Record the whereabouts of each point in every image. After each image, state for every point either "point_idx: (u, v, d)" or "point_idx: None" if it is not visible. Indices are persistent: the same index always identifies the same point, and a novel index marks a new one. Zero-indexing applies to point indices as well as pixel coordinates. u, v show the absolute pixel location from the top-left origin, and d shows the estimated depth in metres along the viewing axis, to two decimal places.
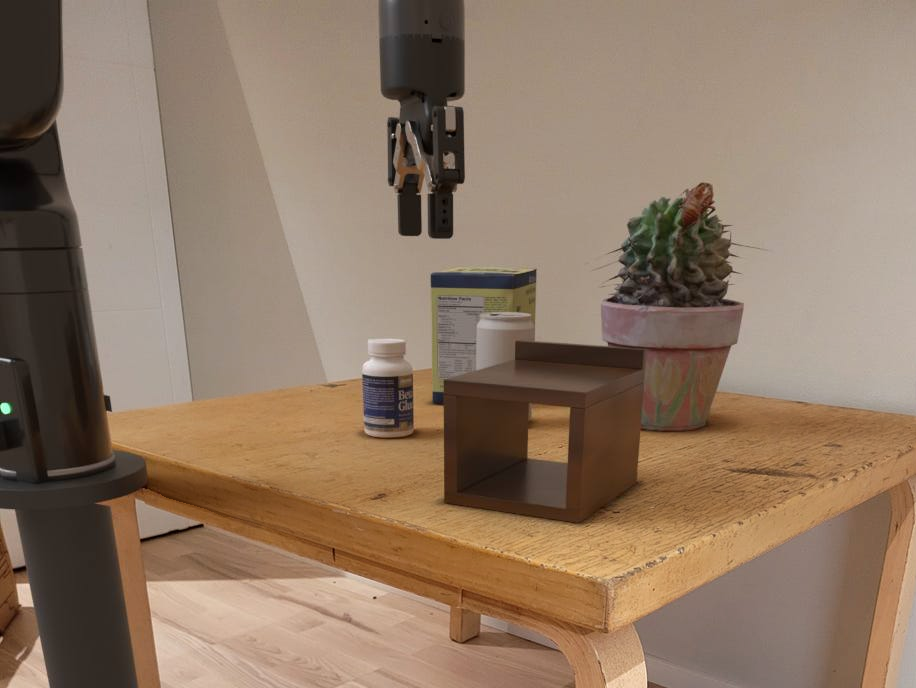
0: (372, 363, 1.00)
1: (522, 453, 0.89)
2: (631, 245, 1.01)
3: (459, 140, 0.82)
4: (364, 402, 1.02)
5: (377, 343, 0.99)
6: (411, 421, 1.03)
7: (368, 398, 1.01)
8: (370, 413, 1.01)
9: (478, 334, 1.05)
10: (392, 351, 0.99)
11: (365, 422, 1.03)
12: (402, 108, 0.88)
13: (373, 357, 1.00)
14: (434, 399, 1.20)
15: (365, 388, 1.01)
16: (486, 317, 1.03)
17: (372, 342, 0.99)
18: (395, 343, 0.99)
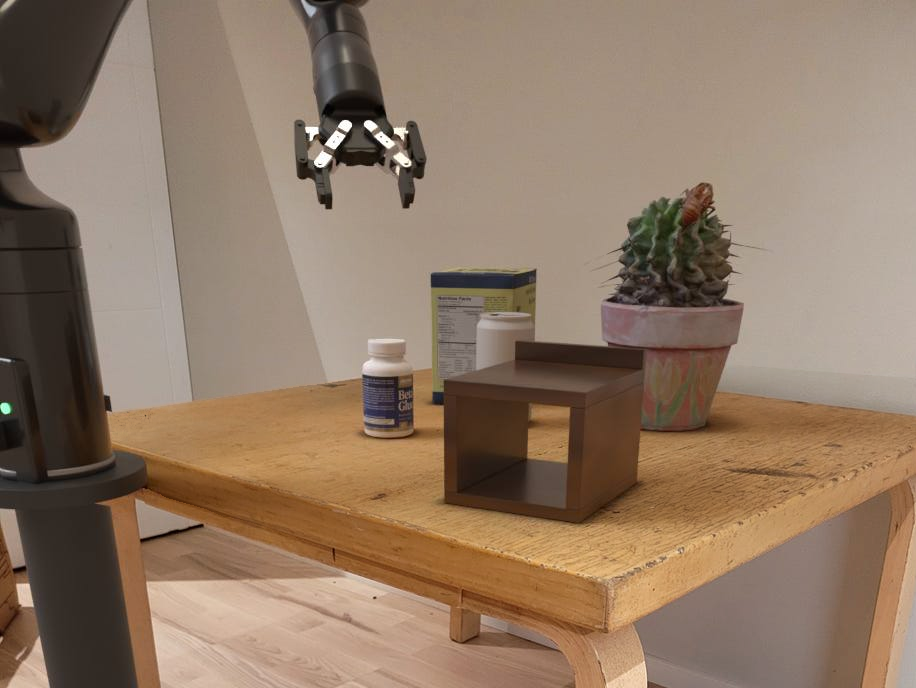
0: (372, 363, 1.00)
1: (522, 453, 0.89)
2: (631, 245, 1.01)
3: None
4: (364, 402, 1.02)
5: (377, 343, 0.99)
6: (411, 421, 1.03)
7: (368, 398, 1.01)
8: (370, 413, 1.01)
9: (478, 334, 1.05)
10: (392, 351, 0.99)
11: (365, 422, 1.03)
12: (332, 117, 1.06)
13: (373, 357, 1.00)
14: (434, 399, 1.20)
15: (365, 388, 1.01)
16: (486, 317, 1.03)
17: (372, 342, 0.99)
18: (395, 343, 0.99)
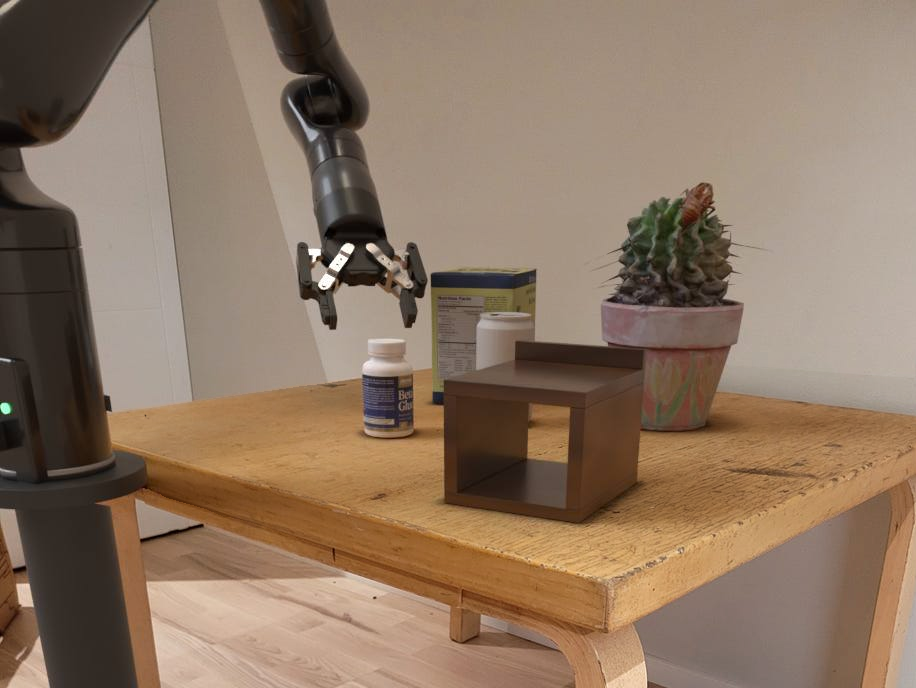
0: (372, 363, 1.00)
1: (522, 453, 0.89)
2: (631, 245, 1.01)
3: None
4: (364, 402, 1.02)
5: (377, 343, 0.99)
6: (411, 421, 1.03)
7: (368, 398, 1.01)
8: (370, 413, 1.01)
9: (478, 334, 1.05)
10: (392, 351, 0.99)
11: (365, 422, 1.03)
12: (334, 239, 1.07)
13: (373, 357, 1.00)
14: (434, 399, 1.20)
15: (365, 388, 1.01)
16: (486, 317, 1.03)
17: (372, 342, 0.99)
18: (395, 343, 0.99)
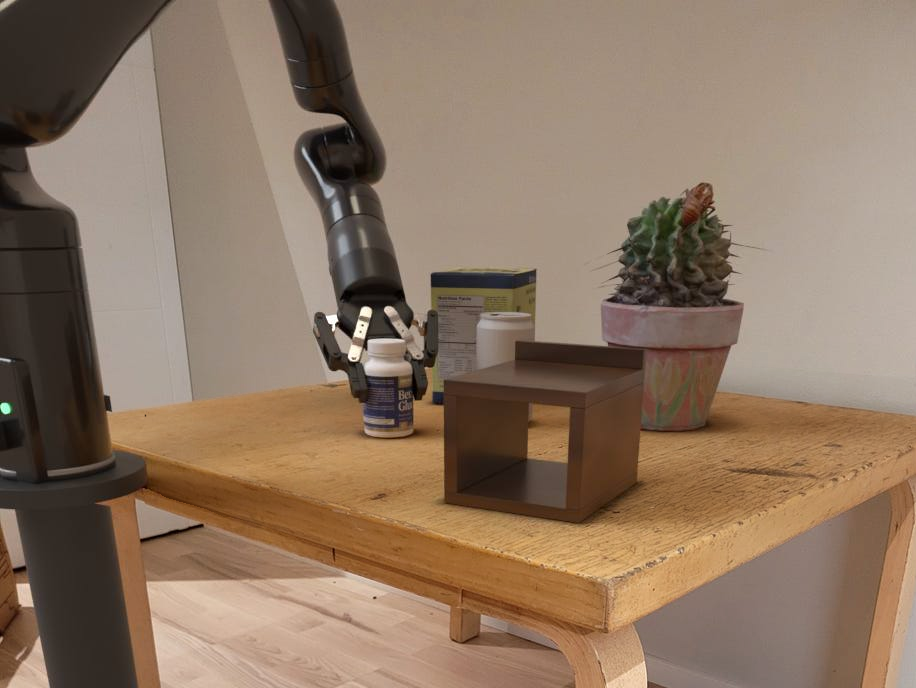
0: (371, 363, 1.00)
1: (522, 453, 0.89)
2: (631, 245, 1.01)
3: None
4: None
5: (377, 343, 0.99)
6: (411, 421, 1.03)
7: (368, 398, 1.01)
8: (370, 413, 1.01)
9: (478, 334, 1.05)
10: (391, 351, 0.99)
11: (365, 422, 1.03)
12: (351, 302, 1.03)
13: (373, 357, 1.00)
14: (434, 399, 1.20)
15: None
16: (486, 317, 1.03)
17: (372, 342, 0.99)
18: (395, 343, 0.99)
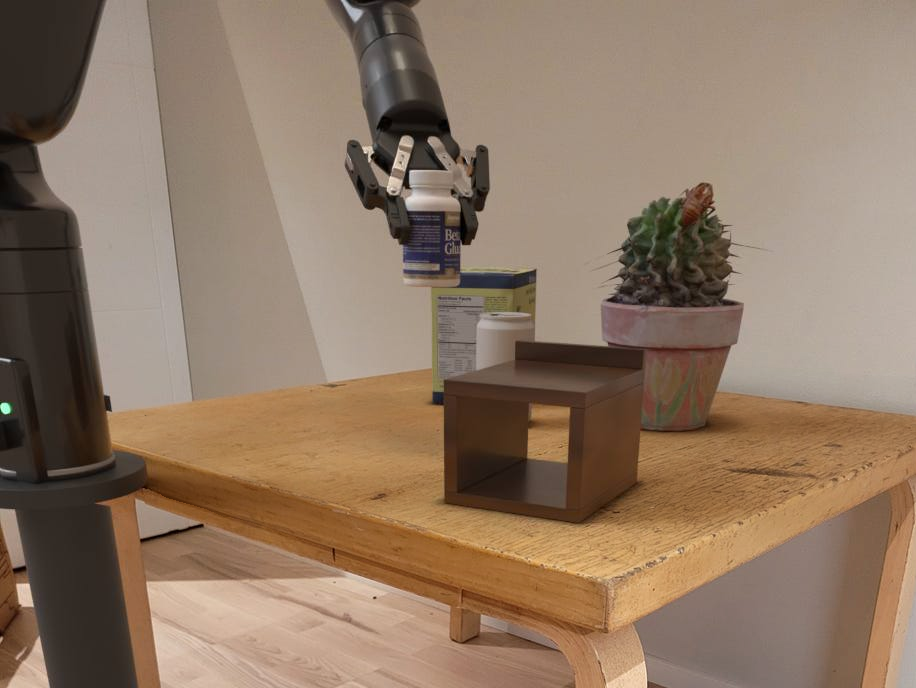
0: (414, 196, 0.86)
1: (522, 453, 0.89)
2: (631, 245, 1.01)
3: None
4: (404, 245, 0.88)
5: (421, 171, 0.85)
6: (458, 269, 0.89)
7: (409, 239, 0.87)
8: (411, 258, 0.87)
9: (478, 334, 1.05)
10: (438, 181, 0.85)
11: (405, 270, 0.89)
12: (389, 132, 0.89)
13: (416, 190, 0.86)
14: (434, 399, 1.20)
15: None
16: (486, 317, 1.03)
17: (415, 171, 0.85)
18: (442, 171, 0.85)
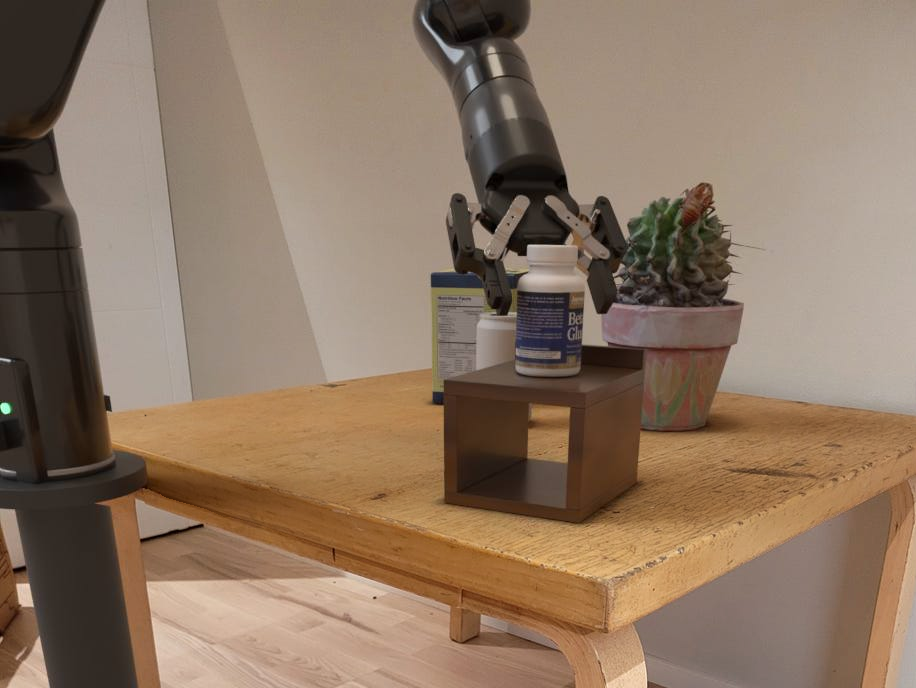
0: (534, 275, 0.74)
1: (522, 453, 0.89)
2: (631, 245, 1.01)
3: None
4: (519, 329, 0.76)
5: (543, 247, 0.73)
6: (580, 356, 0.77)
7: (526, 323, 0.75)
8: (528, 344, 0.76)
9: (478, 334, 1.05)
10: (562, 258, 0.73)
11: (519, 357, 0.77)
12: (500, 190, 0.77)
13: (535, 267, 0.74)
14: (434, 399, 1.20)
15: (523, 309, 0.75)
16: (486, 317, 1.03)
17: (536, 246, 0.74)
18: (567, 247, 0.73)
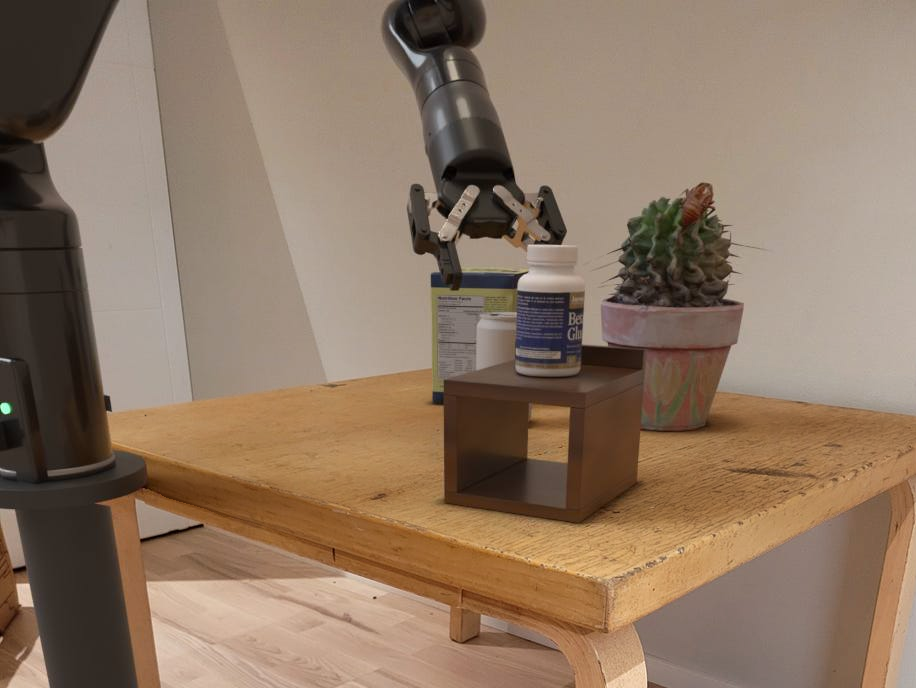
0: (534, 275, 0.74)
1: (522, 453, 0.89)
2: (631, 245, 1.01)
3: None
4: (519, 329, 0.76)
5: (544, 247, 0.73)
6: (580, 356, 0.77)
7: (526, 323, 0.75)
8: (528, 344, 0.76)
9: (478, 334, 1.05)
10: (563, 258, 0.73)
11: (519, 357, 0.77)
12: (454, 181, 0.88)
13: (535, 267, 0.74)
14: (434, 399, 1.20)
15: (523, 309, 0.75)
16: (486, 317, 1.03)
17: (536, 246, 0.74)
18: (567, 247, 0.73)
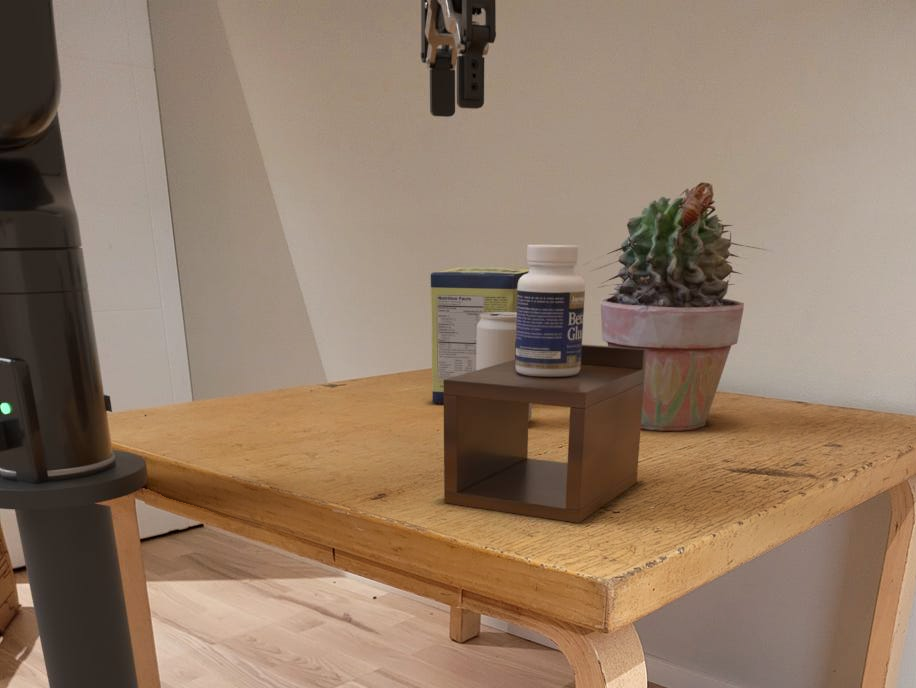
0: (534, 275, 0.74)
1: (522, 453, 0.89)
2: (631, 245, 1.01)
3: None
4: (519, 329, 0.76)
5: (544, 247, 0.73)
6: (580, 356, 0.77)
7: (526, 323, 0.75)
8: (528, 344, 0.76)
9: (478, 334, 1.05)
10: (563, 258, 0.73)
11: (519, 357, 0.77)
12: None
13: (535, 267, 0.74)
14: (434, 399, 1.20)
15: (523, 309, 0.75)
16: (486, 317, 1.03)
17: (536, 246, 0.74)
18: (567, 247, 0.73)
